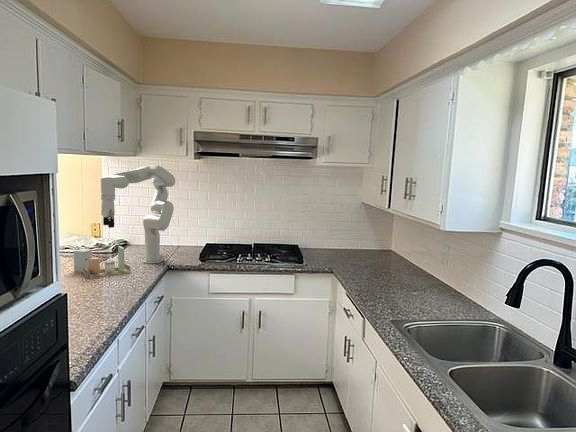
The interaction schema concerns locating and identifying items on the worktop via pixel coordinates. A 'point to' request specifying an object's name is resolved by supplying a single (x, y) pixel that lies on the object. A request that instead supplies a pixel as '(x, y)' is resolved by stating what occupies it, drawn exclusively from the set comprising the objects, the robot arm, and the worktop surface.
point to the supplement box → (81, 259)
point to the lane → (87, 273)
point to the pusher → (121, 258)
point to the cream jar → (109, 266)
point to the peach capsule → (94, 265)
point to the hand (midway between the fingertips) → (108, 226)
